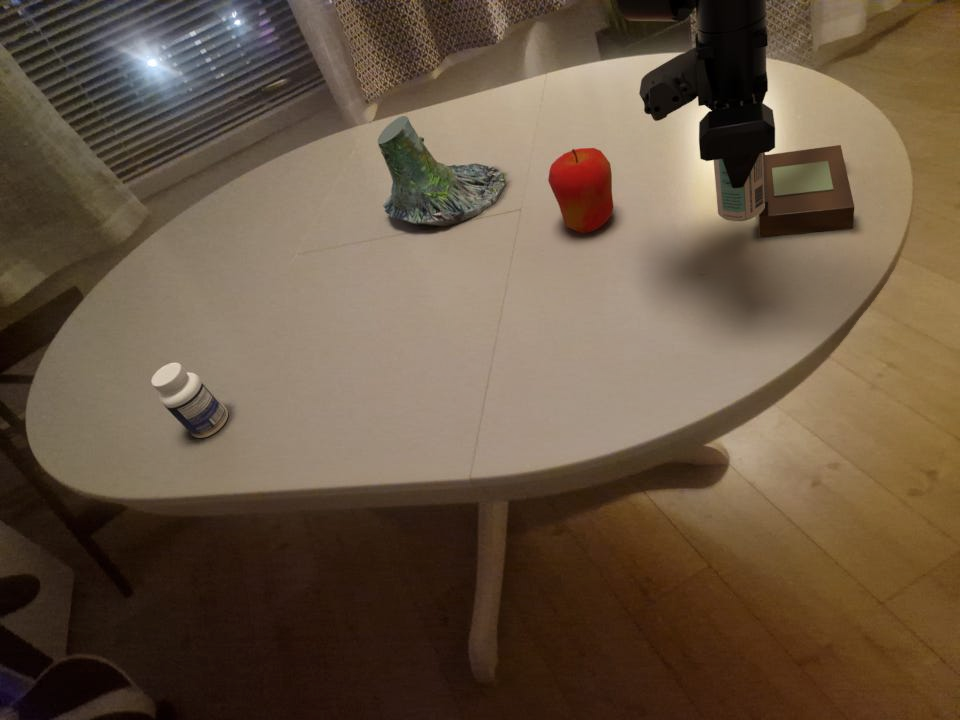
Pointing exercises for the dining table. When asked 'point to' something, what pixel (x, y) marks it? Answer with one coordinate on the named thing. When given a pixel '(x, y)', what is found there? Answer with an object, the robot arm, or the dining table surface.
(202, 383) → the pill bottle
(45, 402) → the dining table surface
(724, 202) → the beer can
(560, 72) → the dining table surface
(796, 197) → the brown rectangular block
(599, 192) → the apple
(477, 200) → the tree stump
